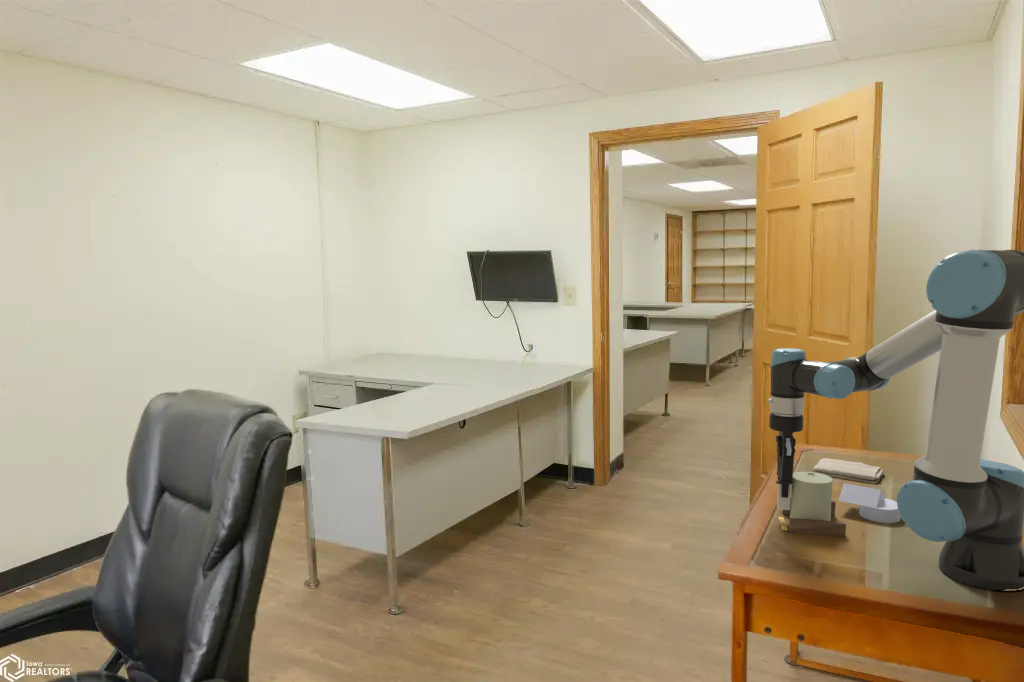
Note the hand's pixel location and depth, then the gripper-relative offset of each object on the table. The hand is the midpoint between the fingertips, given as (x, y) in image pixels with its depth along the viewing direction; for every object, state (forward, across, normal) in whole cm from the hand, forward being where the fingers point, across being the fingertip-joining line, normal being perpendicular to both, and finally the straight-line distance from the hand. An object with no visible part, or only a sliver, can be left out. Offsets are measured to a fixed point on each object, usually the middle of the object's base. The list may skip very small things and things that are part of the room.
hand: (783, 508), depth 166 cm
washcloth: (+4, -44, +23) cm, 50 cm away
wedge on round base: (+4, -10, +22) cm, 24 cm away
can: (+4, 0, +6) cm, 7 cm away
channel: (+3, 0, +7) cm, 7 cm away
